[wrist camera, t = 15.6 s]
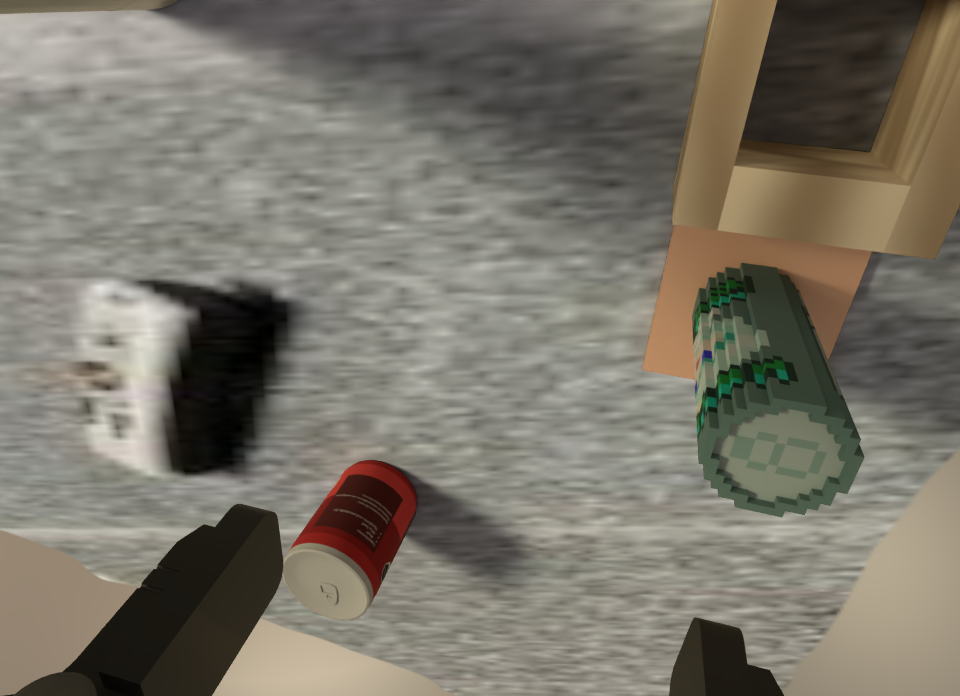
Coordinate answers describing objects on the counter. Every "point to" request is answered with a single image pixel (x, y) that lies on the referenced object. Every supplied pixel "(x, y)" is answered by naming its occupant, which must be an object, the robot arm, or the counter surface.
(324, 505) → the canned food
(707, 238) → the plate
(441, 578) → the counter surface
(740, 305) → the can
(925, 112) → the bore block
